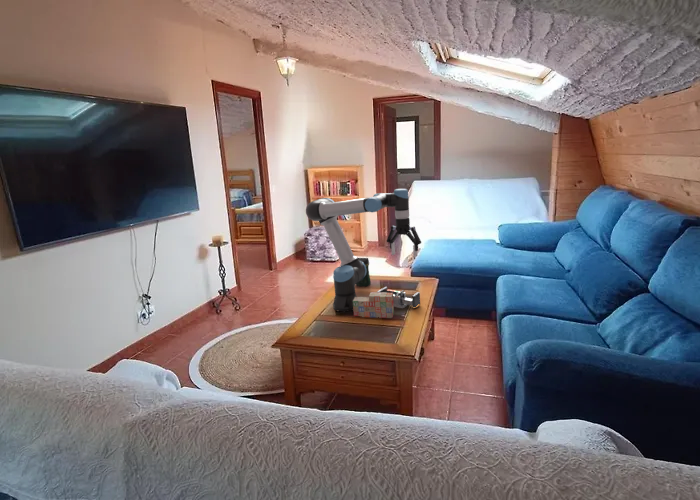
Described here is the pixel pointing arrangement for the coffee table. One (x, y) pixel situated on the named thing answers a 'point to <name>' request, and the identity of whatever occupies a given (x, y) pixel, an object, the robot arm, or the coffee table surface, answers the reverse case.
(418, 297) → the plunger
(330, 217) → the robot arm
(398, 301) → the gauge body
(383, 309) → the stack of blocks
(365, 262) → the coffee jar
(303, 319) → the coffee table surface
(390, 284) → the coffee table surface
